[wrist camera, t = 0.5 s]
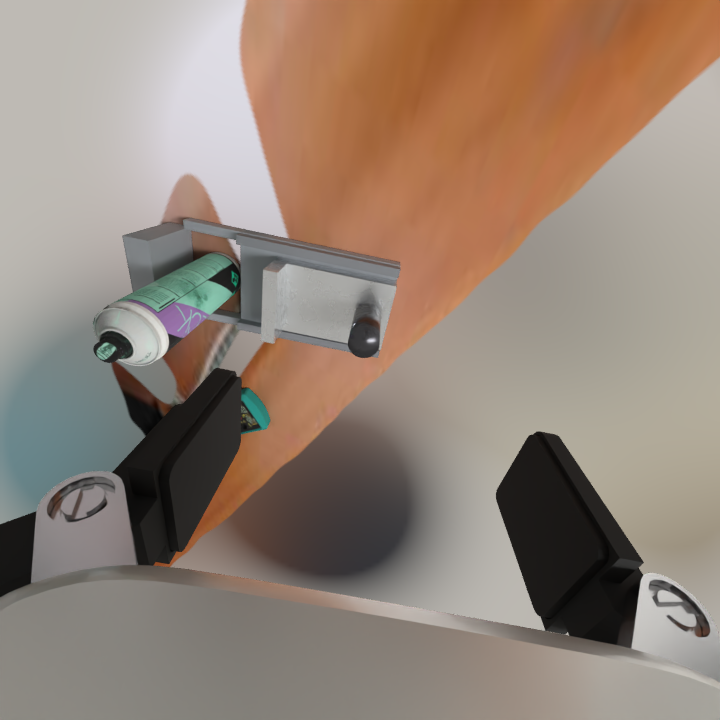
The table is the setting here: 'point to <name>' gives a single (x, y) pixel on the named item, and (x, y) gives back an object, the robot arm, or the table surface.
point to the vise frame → (242, 266)
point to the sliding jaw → (326, 304)
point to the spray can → (165, 310)
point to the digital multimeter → (252, 412)
